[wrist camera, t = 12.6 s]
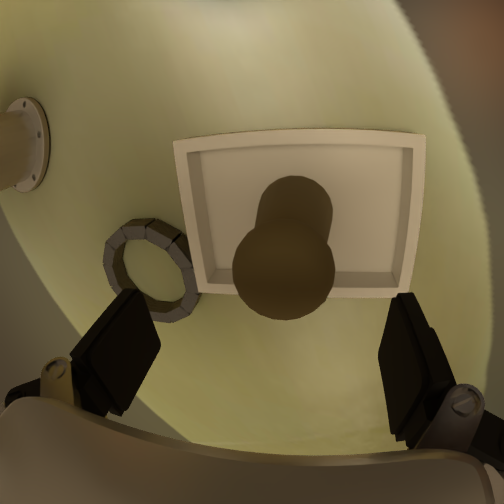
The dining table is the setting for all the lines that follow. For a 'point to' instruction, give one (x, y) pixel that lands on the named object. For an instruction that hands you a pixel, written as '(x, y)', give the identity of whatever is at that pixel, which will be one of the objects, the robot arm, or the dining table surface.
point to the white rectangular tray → (325, 174)
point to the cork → (287, 251)
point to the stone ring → (176, 249)
